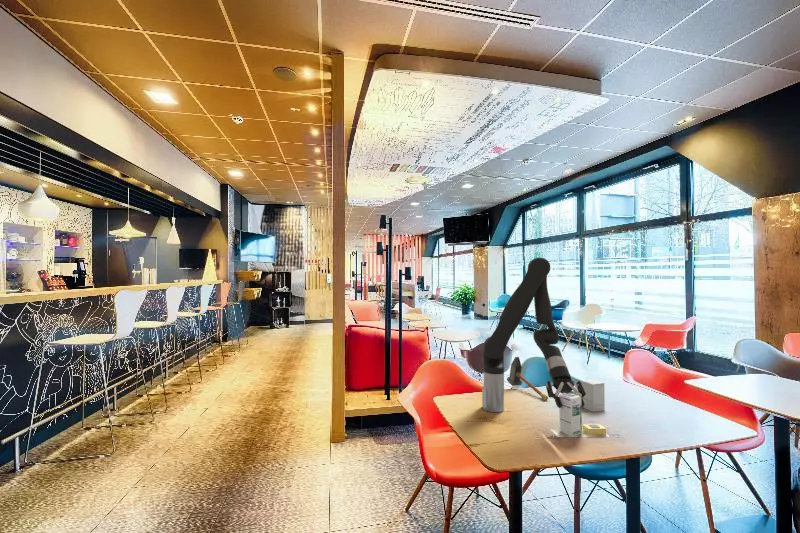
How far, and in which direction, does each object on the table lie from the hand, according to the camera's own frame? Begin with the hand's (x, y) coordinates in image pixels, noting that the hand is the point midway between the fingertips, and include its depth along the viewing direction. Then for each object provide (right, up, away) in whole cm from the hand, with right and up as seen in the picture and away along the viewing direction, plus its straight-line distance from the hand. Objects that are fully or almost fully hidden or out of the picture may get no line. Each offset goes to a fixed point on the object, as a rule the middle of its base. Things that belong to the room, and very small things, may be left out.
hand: (571, 407), depth 141 cm
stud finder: (+9, -10, +1) cm, 14 cm away
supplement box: (+24, -12, +30) cm, 40 cm away
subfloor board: (+3, -11, 0) cm, 12 cm away
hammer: (+2, -13, +55) cm, 56 cm away
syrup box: (0, -10, 0) cm, 10 cm away
